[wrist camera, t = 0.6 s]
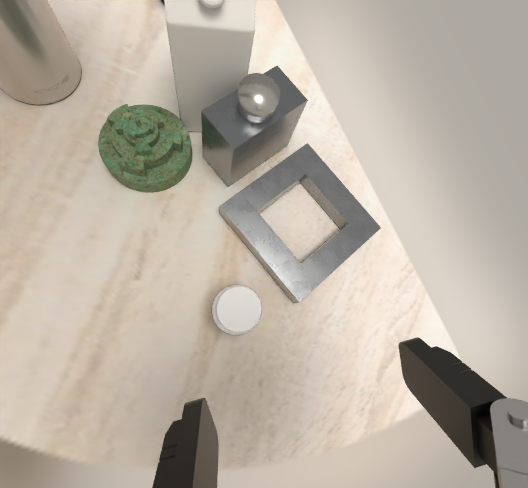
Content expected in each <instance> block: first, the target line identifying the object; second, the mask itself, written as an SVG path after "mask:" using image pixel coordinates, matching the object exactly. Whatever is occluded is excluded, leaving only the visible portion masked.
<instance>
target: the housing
mask: <svg viewBox="0 0 528 488" xmlns="http://www.w3.org/2000/svg"><path fill="white" fill-rule="evenodd" d="M307 101H308V100H307V99H306V98H305V97H304V96H303V94H302V93H301V92H300V91H299V90H298V89H297V88H296V86H295V85H294V84H293V83H292V82H291V81H290V80H289V78H288V77H287V76H286V75H285V74H284V73H283V72H282V70H281V69H280V68H279V67H278V66H276V67H274V68H272V69H271V70H269V71H267V72H266V73H264V74H260V73H253V74H249V75H247V76H245V77H244V78H243V79H242V80H241V82H240V84H239V89H237V90H235V91H234V92H232V93H230V94H229V95H227V96H225V97H224V98H222V99H220V100H219V101H217V102H215V103H214V104H212V105H210V106H208V107H207V108H205V109H203V110H202V111H201V119H202V144H203V158H204V159H205V160H206V161H207V162H208V164H209V165H210V166H211V167H212V168H213V170H214V171H215V172H216V173H217V174H218V176H219V177H220V178H221V179H222V180H223V182H224V183H225V184H226V185H227V186H228V187H229V186H230V185H232V184H233V183H235V182H236V181H238V180H239V179H240V178H242V177H243V176H245V175H246V174H248V173H249V172H250V171H252V170H253V169H255V168H256V167H257V166H259V165H260V164H262V163H263V162H265V161H266V160H267V159H269V158H270V157H272V156H273V155H275V154H276V153H277V152H279V151H280V150H282V149H283V148H285V147H286V146H287V144H288V142H289V140H290V138H291V135H292V133H293V131H294V129H295V127H296V125H297V122H298V120H299V118H300V116H301V114H302V112H303V109H304V107H305V105H306V103H307ZM299 183H301V184H302V185H303V186H304V187H305V189H306V190H307V191H308V192H309V193H310V195H311V196H312V197H313V198H314V199H315V200H316V202H317V203H318V204H319V205H320V206H321V207H322V209H323V210H324V211H325V212H326V213H327V214H328V216H329V217H330V218H331V219H332V220H333V221H334V223H335V224H336V225H337V226H338V227H339V228H340V230H338V231H337V232H336V233H335V234H334V235H333V236H331V237H330V238H329V239H328V240H327V241H326V242H325V243H323V244H322V245H321V246H320V247H319V248H318V249H316V250H315V251H314V252H313V253H312V254H311V255H309V256H308V257H307V258H306V259H305V260H304V261H303V262H301V263H300V262H299V261H298V260H297V259H296V257H295V256H294V255H293V254H292V253H291V251H290V250H289V249H288V248H287V247H286V245H285V244H284V243H283V242H282V241H281V239H280V238H279V237H278V236H277V235H276V233H275V232H274V231H273V230H272V229H271V228H270V226H269V225H268V224H267V223H266V222H265V220H264V219H263V218H262V217H261V216H260V214H259V213H260V212H262V211H263V210H264V209H266V208H267V207H268V206H270V205H271V204H272V203H274V202H275V201H276V200H278V199H279V198H280V197H282V196H283V195H284V194H285V193H287V192H288V191H289V190H291V189H292V188H293V187H295V186H296V185H297V184H299ZM219 213H220V215H221V216H222V217H223V218H224V220H225V221H226V222H227V223H228V224H229V226H230V227H231V228H232V229H233V230H234V232H235V233H236V234H237V235H238V236H239V238H240V239H241V240H242V241H243V242H244V244H245V245H246V246H247V247H248V249H249V250H250V251H251V252H252V253H253V255H254V256H255V257H256V258H257V259H258V261H259V262H260V263H261V264H262V265H263V267H264V268H265V269H266V270H267V271H268V273H269V274H270V275H271V276H272V278H273V279H274V280H275V281H276V282H277V284H278V285H279V286H280V287H281V288H282V290H283V291H284V292H285V293H286V294H287V296H288V297H289V298H290V299H291V301H292V302H293V303H297V302H300V301H301V300H302V299H304V298H305V297H306V296H307V295H308V294H309V293H310V292H311V291H312V290H313V289H314V288H316V287H317V286H318V285H319V284H320V283H321V282H322V281H323V280H324V279H325V278H327V277H328V276H329V275H330V274H331V273H332V272H333V271H334V270H335V269H336V268H337V267H339V266H340V265H341V264H342V263H343V262H344V261H345V260H346V259H347V258H348V257H350V256H351V255H352V254H353V253H354V252H355V251H356V250H357V249H358V248H359V247H361V246H362V245H363V244H364V243H365V242H366V241H367V240H368V239H369V238H370V237H371V236H373V235H374V234H375V233H376V232H377V231H378V230H379V229H380V228H381V227H380V226H379V225H378V224H377V223H376V222H375V220H374V219H373V218H372V217H371V216H370V215H369V214H368V212H367V211H366V210H365V209H364V208H363V207H362V205H361V204H360V203H359V202H358V201H357V200H356V199H355V197H354V196H353V195H352V194H351V193H350V192H349V190H348V189H347V188H346V187H345V186H344V185H343V184H342V182H341V181H340V180H339V179H338V178H337V177H336V175H335V174H334V173H333V172H332V171H331V170H330V169H329V167H328V166H327V165H326V164H325V163H324V162H323V161H322V159H321V158H320V157H319V156H318V155H317V154H316V152H315V151H314V150H313V149H312V148H311V147H310V146H309V144H308V143H307V144H306V145H304V146H303V147H301V148H300V149H299V150H297V151H296V152H295V153H293V154H292V155H290V156H289V157H288V158H286V159H285V160H283V161H282V162H281V163H279V164H278V165H276V166H275V167H274V168H272V169H271V170H269V171H268V172H267V173H265V174H264V175H263V176H261V177H260V178H258V179H257V180H256V181H254V182H253V183H251V184H250V185H249V186H247V187H246V188H244V189H243V190H242V191H240V192H239V193H237V194H236V195H235V196H233V197H232V198H230V199H229V200H228V201H226V202H225V203H224V204H222V205H221V206H220V210H219Z"/></svg>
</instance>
